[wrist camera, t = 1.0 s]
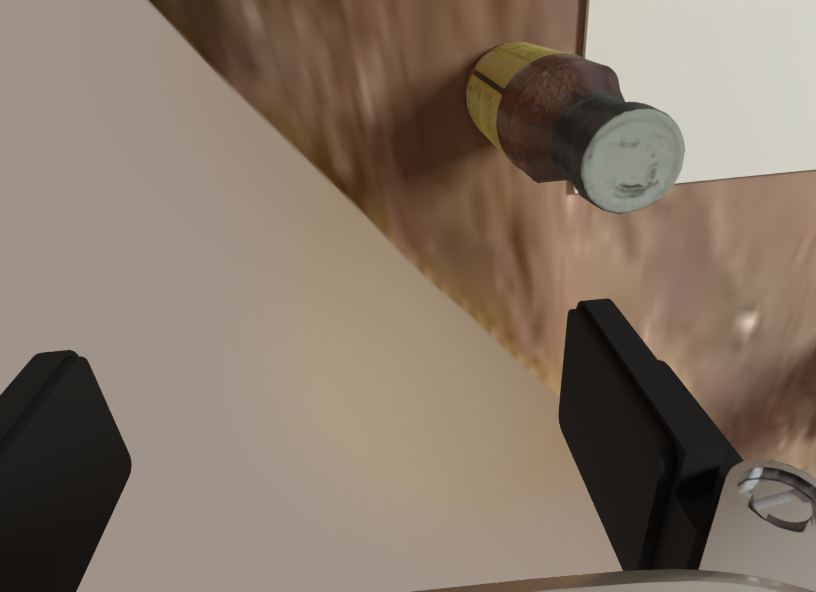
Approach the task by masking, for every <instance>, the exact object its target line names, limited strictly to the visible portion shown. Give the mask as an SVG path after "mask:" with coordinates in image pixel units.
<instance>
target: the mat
mask: <svg viewBox="0 0 816 592" xmlns="http://www.w3.org/2000/svg"><path fill="white" fill-rule="evenodd" d="M583 58H585V59H587V60H590V61H593V62H596V63H599V64H602V65H605V66H609V67H610V68H611V69H613V71H614V72H615V73H616V75H617V77H618V80H619V86H620V91H621V93H622V95H623V98H624V100H625V102H639V103H644V104H647V105H649V106H652V107H654V108H656V109H658V110H660V111H662V112H665V113H667V114H668V115H669V116H670V117H671V118H672V119H673V120H674V121H675V122H676V123H677V125H678V127H679V129H680V131H681V133H682V136H683V140H684V146H685V154H684V160H683V164H682V169H681V172H680V174H679V176H678V178H677V180H676V182H675V183H685V182H695V181H705V180H715V179H725V178H735V177H745V176H755V175H765V174H775V173H785V172H795V171H805V170H815V169H816V0H587V3H586V17H585V31H584V44H583ZM675 183H674V184H675ZM573 192H574V193H578V192H577V190H576V188H575V186H574V184H573Z"/></svg>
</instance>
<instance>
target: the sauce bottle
mask: <svg viewBox="0 0 816 592" xmlns="http://www.w3.org/2000/svg"><path fill="white" fill-rule="evenodd" d="M466 103H467V109H468V111H469V114H470V116H471V118H472V120H473V122H474V123H475V125H476V126H477V127H478V128H479V130H480V131H481V132H482V133H483V134H484V135H485V136H486V137H487V138H488V139H489V140H490V141H491V142H492V143H493V144H494V145H495V146H496V147H497V148H498V149H499V150H500V151H501V152H502V153H503V154H504V155H505V156H506V157H507V158H508V159H509V160H510V161H511V162H512V163H513V164H514V165H515V166H516V167H518V168H519V169H521V170H523V171H524V172H525V173H526V174H527V175H528V176H530V177H531V178H532V179H533V180H534V181H536V182H537V183H541V182H551V181H563V180H570V181H572V182H573V184H574V186H575V188H576V190H577V192H578V193H579V194H580V196H582V197H583V198H584V199H586V200H587V201H589V202H590V203H592V204H593V205H595V206H597V207H598V208H600V209H602V210H605V211H608V212H612V213H618V214H623V213H629V212H633V211H637V210H640V209H642V208H645V207H647V206H649V205H651V204H652V203H654V202H656V201H657V200H659V199H660V198H661V197H662V196H663V195H664V194H665V193H666V192H668V191H669V190H670V189H671V187H672V186H673V185H674V183H675V182H676V180H677V178H678V176H679V174H680V172H681V169H682V164H683V160H684V154H685V146H684V140H683V136H682V133H681V131H680V129H679V127H678V125H677V123H676V122H675V121H674V120H673V119H672V118H671V117H670V116H669V115H668V114H667V113H665V112H662V111H660V110H658V109H656V108H654V107H652V106H649V105H647V104H644V103H639V102H625V100H624V98H623V95H622V93H621V91H620V86H619V80H618V77H617V75H616V73H615V72H614V71H613V69H611V68H610V67H609V66H605V65H602V64H599V63H596V62H593V61H590V60H587V59H585V58H583V57H581V56H578V55H575V54H570V53H566V52H561V51H557V50H553V49H549V48H545V47H541V46H538V45H534V44H530V43H526V42H512V43H508V44H502V45H498V46H495V47H494V48H493V49H492V50H490V51H489V52H487V53H486V54H485V55H484V56H483V57H482V58H481V59H480V60H479V61H478V62H477V63H476V65H475V66H474V67H473V68H472V70H471V71H470V73H469V76H468V79H467V83H466Z"/></svg>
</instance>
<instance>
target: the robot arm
mask: <svg viewBox="0 0 816 592" xmlns="http://www.w3.org/2000/svg"><path fill="white" fill-rule="evenodd" d="M559 423H560V427H561V430H562V433H563V435H564V438H565V440H566V442H567V444H568V447H569V449H570V451H571V453H572V455H573V458H574V460H575V462H576V465H577V467H578V469H579V472H580V474H581V476H582V478H583V481H584V483H585V485H586V487H587V490H588V492H589V494H590V497H591V499H592V501H593V503H594V506H595V508H596V510H597V512H598V515H599V517H600V519H601V522H602V524H603V526H604V528H605V531H606V533H607V535H608V537H609V540H610V542H611V544H612V547H613V549H614V551H615V553H616V556H617V558H618V560H619V562H620V565H621V567H622V569H623V571H619V572H607V573H596V574H585V575H573V576H562V577H550V578H539V579H527V580H518V581H508V582H499V583H489V584H480V585H470V586H461V587H452V588H442V589H433V590H424V591H413V592H816V478H814V477H813V476H811V475H810V474H808V473H807V472H804V471H802V470H800V469H798V468H796V467H793V466H791V465H788V464H785V463H781V462H777V461H773V460H761V459H754V460H748V461H743V459H742V458H741V457H740V455H739V454H738V453H737V452H736V450H735V449H734V448H733V447H732V445H731V444H730V443H729V442H728V440H727V439H726V438H725V436H724V435H723V434H722V433H721V431H720V430H719V429H718V428H717V426H716V425H715V424H714V422H713V421H712V420H711V419H710V417H709V416H708V415H707V414H706V412H705V411H704V410H703V409H702V407H701V406H700V405H699V403H698V402H697V401H696V400H695V398H694V397H693V396H692V395H691V393H690V392H689V391H688V389H687V388H686V387H685V386H684V384H683V383H682V382H681V381H680V379H679V378H678V377H677V376H676V374H675V373H674V372H673V370H672V369H671V368H670V367H669V366H668V365H667V364H666V363H665V362H664V361H661V360H657V359H656V357H655V356H654V355H653V353H652V352H651V351H650V349H649V348H648V347H647V346H646V344H645V343H644V342H643V340H642V339H641V338H640V336H639V335H638V334H637V333H636V331H635V330H634V329H633V327H632V326H631V325H630V323H629V322H628V321H627V320H626V318H625V317H624V316H623V314H622V313H621V312H620V310H619V309H618V308H617V307H616V305H615V304H614V303H613V301H611V300H610V299H597V300H587V301H580V302H579V303H578V305H577V308H576V309H571V310H569V312H568V317H567V328H566V339H565V349H564V360H563V371H562V382H561V392H560V403H559ZM130 473H131V458H130V455H129V452H128V450H127V448H126V446H125V443H124V441H123V439H122V437H121V435H120V432H119V430H118V428H117V425H116V423H115V421H114V419H113V416H112V414H111V412H110V410H109V407H108V405H107V403H106V401H105V398H104V396H103V394H102V392H101V389H100V388H99V385H98V383H97V380H96V378H95V376H94V374H93V371H92V369H91V367H90V365H89V362H88V361H87V359H86V358H84V357H79V356H78V354H77V353H75V352H74V351H71V350H66V351H54V352H44V353H38V354H36V355H35V356H34V357H33V358H32V359H31V360H30V361H29V362H28V364H27V365H26V366H25V367H24V368H23V369H22V371H21V372H20V373H19V374H18V375H17V377H16V378H15V379H14V380H13V381H12V382H11V383H10V385H9V386H8V387H7V388H6V389H5V390H4V392H3V393H2V394H1V395H0V592H76V590H77V589H78V587H79V584H80V582H81V580H82V578H83V576H84V573H85V571H86V569H87V567H88V565H89V563H90V560H91V558H92V556H93V554H94V552H95V550H96V547H97V545H98V543H99V541H100V539H101V537H102V534H103V532H104V530H105V528H106V526H107V523H108V521H109V519H110V517H111V515H112V513H113V511H114V508H115V506H116V504H117V502H118V500H119V498H120V495H121V493H122V491H123V489H124V487H125V485H126V482H127V480H128V478H129V475H130Z"/></svg>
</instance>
